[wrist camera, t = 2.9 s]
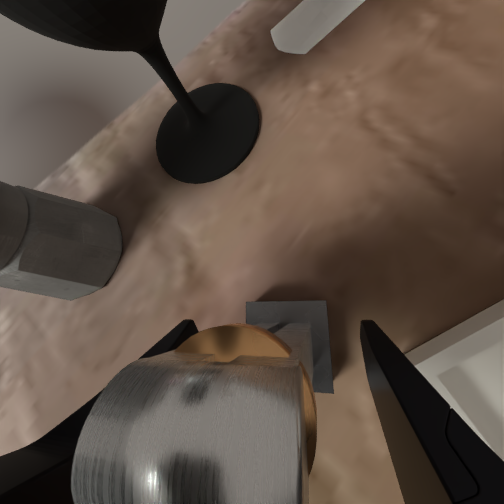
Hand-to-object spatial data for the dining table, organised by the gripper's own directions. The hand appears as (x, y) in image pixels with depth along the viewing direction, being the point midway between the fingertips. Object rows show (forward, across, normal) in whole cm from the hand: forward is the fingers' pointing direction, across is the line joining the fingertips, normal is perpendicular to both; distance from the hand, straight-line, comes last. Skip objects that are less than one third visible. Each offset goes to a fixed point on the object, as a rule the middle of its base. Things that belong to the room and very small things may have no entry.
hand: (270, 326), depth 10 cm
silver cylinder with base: (+4, 0, +6) cm, 7 cm away
